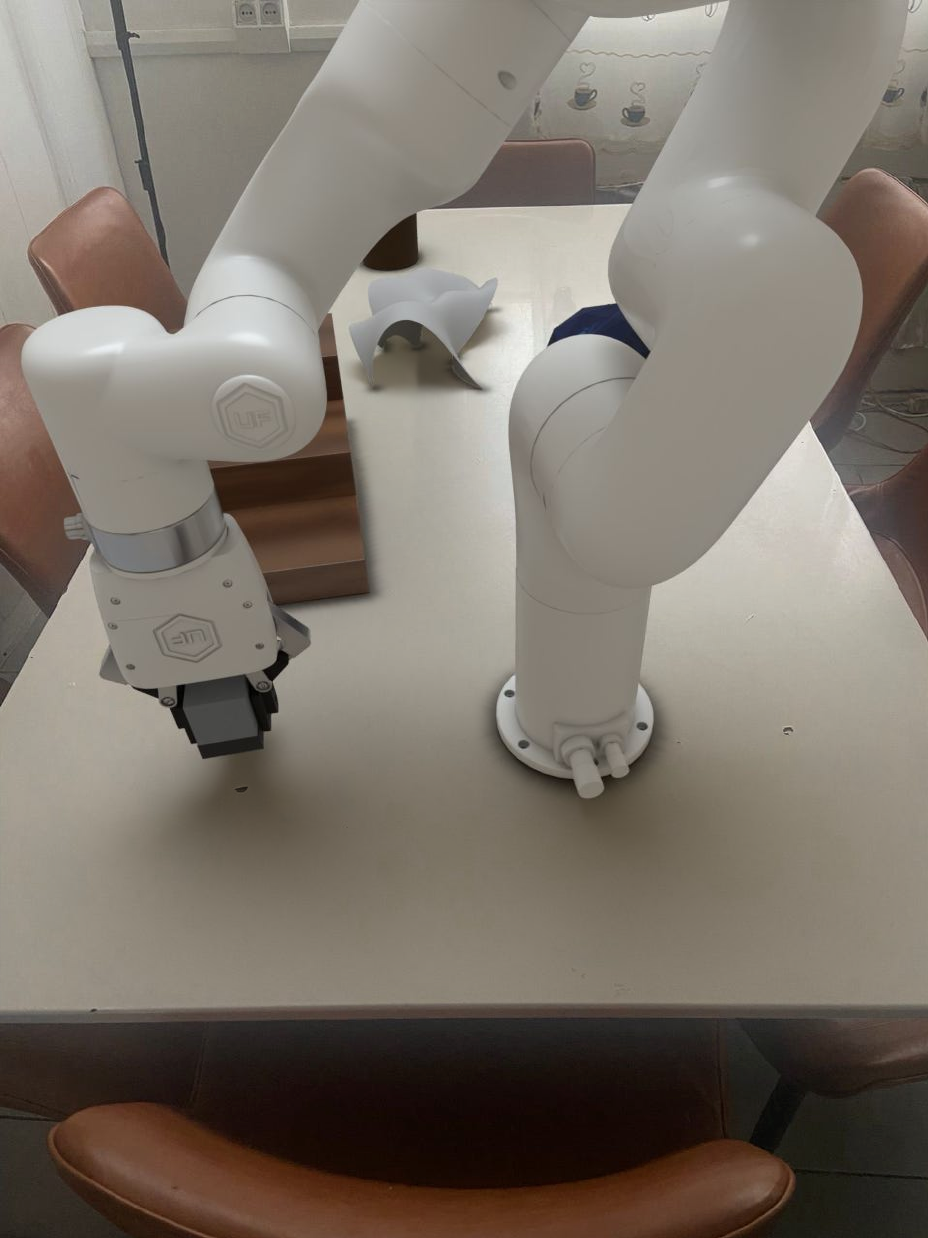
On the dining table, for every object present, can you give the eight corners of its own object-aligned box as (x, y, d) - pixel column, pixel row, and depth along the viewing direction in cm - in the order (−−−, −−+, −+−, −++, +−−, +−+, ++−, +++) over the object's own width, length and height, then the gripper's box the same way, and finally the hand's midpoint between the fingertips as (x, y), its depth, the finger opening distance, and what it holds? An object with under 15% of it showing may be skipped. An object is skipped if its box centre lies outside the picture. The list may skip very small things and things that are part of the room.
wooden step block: (369, 592, 85) (352, 467, 76) (178, 617, 84) (136, 493, 74) (347, 423, 110) (331, 312, 100) (199, 440, 108) (169, 329, 99)
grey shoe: (263, 749, 64) (246, 697, 61) (202, 759, 64) (181, 708, 60) (264, 671, 70) (248, 620, 66) (207, 681, 70) (188, 629, 66)
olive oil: (414, 272, 145) (401, 99, 129) (351, 270, 147) (331, 99, 130) (428, 249, 153) (417, 83, 136) (368, 247, 155) (351, 83, 138)
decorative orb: (519, 420, 98) (610, 311, 90) (511, 359, 109) (591, 257, 101) (616, 482, 104) (709, 385, 96) (599, 418, 115) (681, 326, 107)
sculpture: (375, 310, 135) (368, 244, 128) (500, 309, 133) (500, 243, 127) (347, 389, 116) (337, 316, 110) (491, 389, 115) (490, 316, 108)
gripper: (0, 583, 50) (109, 783, 62) (301, 537, 51) (349, 742, 63) (27, 507, 55) (122, 705, 68) (297, 468, 57) (343, 669, 69)
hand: (231, 721), depth 65 cm, fingers closed on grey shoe, 4 cm apart
